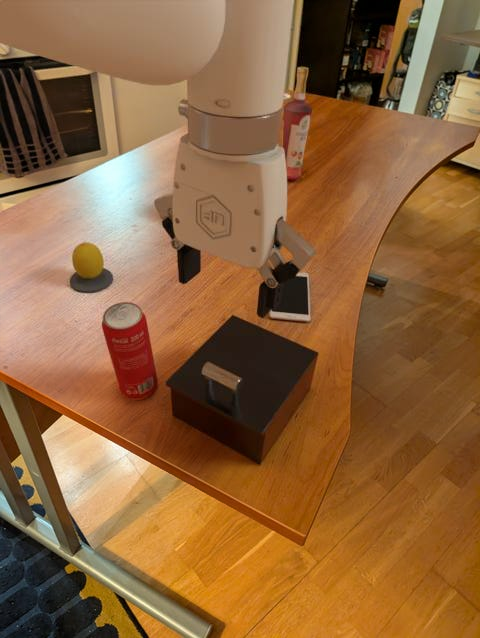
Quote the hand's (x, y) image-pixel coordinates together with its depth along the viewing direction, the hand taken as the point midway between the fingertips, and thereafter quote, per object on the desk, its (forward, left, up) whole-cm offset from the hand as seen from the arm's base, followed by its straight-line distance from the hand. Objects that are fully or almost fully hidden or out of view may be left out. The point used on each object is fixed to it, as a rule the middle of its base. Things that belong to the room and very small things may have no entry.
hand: (227, 293), depth 49 cm
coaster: (+15, +40, -24) cm, 49 cm away
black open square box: (+6, 0, -24) cm, 25 cm away
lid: (+6, 0, -17) cm, 18 cm away
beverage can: (-1, +15, -24) cm, 29 cm away
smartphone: (+33, +6, -24) cm, 41 cm away
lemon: (+15, +40, -24) cm, 49 cm away
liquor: (+82, +31, -24) cm, 91 cm away
